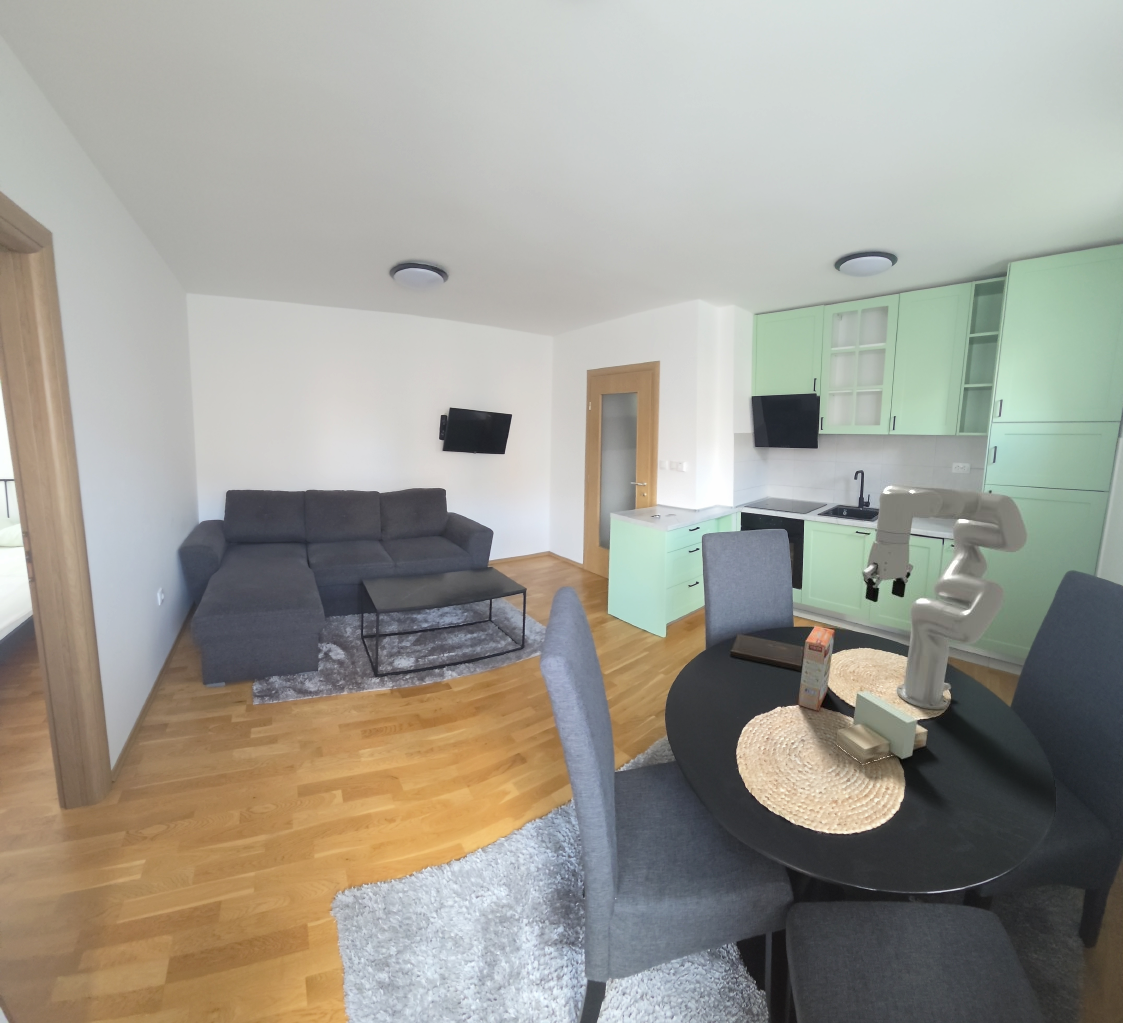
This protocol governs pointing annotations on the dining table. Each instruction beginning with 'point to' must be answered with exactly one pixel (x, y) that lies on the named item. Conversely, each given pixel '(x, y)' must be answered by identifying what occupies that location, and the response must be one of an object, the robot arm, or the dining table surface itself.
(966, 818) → the dining table surface
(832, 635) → the cracker box
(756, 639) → the hardcover book
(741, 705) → the dining table surface
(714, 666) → the dining table surface
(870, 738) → the slotted rail
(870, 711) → the pale green plate
